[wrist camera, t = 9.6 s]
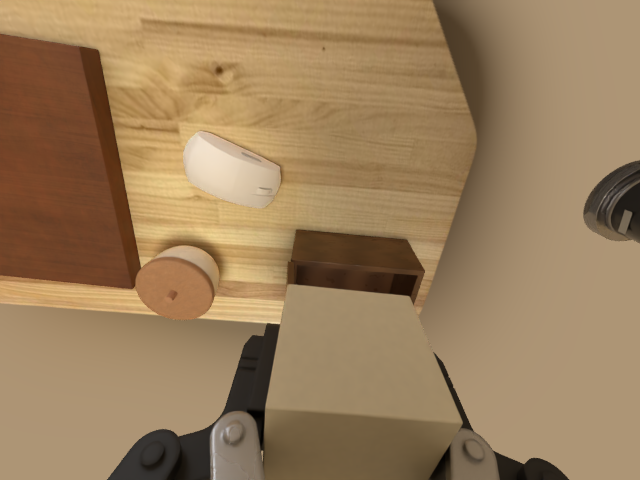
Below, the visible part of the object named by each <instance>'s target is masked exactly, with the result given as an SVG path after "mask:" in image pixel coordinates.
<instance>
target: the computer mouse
mask: <svg viewBox="0 0 640 480" xmlns="http://www.w3.org/2000/svg"><path fill="white" fill-rule="evenodd" d="M183 163H184V168H185V172H186V176H187V178H188V181H189V182H190V183H192V184H193V185H195V186H196V187H198V188H199V189H201V190H202V191H205V192H207V193H209V194H211V195H213V196H215V197H217V198H220V199H222V200H225V201H227V202H231V203H234V204H238V205H243V206H247V207H253V208H265V207H266V206H267V205H268V204H270V203H271V202H272V201H273V199H274V198H275V196H276V194H277V192H278V189H279V186H280V183H281V174H280V166H278V165H276V164H275V163H273V162H270V161H268V160H267V159H265V158H263V157H261V156H259V155H257V154H254V153H252V152H250V151H248V150H246V149H244V148H242V147H239V146H237V145H235V144H233V143H231V142H229V141H226V140H224V139H222V138H220V137H218V136H216V135H213V134H211V133H208V132H203V131H199V132H197V133H195V134H194V135H193V136H192V137H191V138H190V139H189V141H188V142H187V144H186V146H185V149H184V153H183Z"/></svg>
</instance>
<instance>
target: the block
mask: <svg viewBox="0 0 640 480" xmlns="http://www.w3.org/2000/svg"><path fill="white" fill-rule="evenodd" d="M462 424H463V422H462V419H461V417H460V414H459V412H458V410H457V407H456V405H455V403H454V400H453V398H452V395H451V393H450V391H449V388H448V386H447V384H446V381H445V379H444V376H443V374H442V372H441V369H440V367H439V365H438V362H437V360H436V358H435V355H434V353H433V351H432V348H431V346H430V343H429V341H428V339H427V336H426V334H425V332H424V329H423V327H422V324H421V322H420V320H419V317H418V315H417V313H416V310H415V308H414V305H413V303H412V301H411V298H410V297H409V296H403V295H393V294H383V293H373V292H363V291H353V290H343V289H333V288H324V287H314V286H304V285H294V284H288V285H287V290H286V296H285V301H284V307H283V312H282V318H281V323H280V329H279V334H278V340H277V345H276V351H275V356H274V362H273V368H272V373H271V379H270V384H269V390H268V395H267V401H266V406H265V426H264V449H263V468H264V475H265V480H428V479H429V478H430V476H431V474H432V473H433V471H434V470H435V468H436V466H437V465H438V463H439V461H440V460H441V458H442V457H443V455H444V453H445V452H446V450H447V449H448V447H449V445H450V444H451V442H452V440H453V439H454V437H455V436H456V434H457V432H458V431H459V429H460V427H461V426H462Z"/></svg>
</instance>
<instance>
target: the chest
mask: <svg viewBox="0 0 640 480" xmlns="http://www.w3.org/2000/svg"><path fill="white" fill-rule="evenodd" d="M291 262H294V285H304V286H314V287H324V288H333V289H343V290H353V291H363V292H373V293H383V294H393V295H403V296H409V297H410V298H411V301H412V303H413V305H414V302H415V299H416V296H417V294H418V291H419V288H420V285H421V282H422V279H423V276H424V273H425V270H424V269H423V267H422V265H421V263H420V262H419V260H418V258H417V256H416V255H415V253H414V251H413V250H412V248H411V246H410V244H409V243H408V241H407V240H404V239H393V238H382V237H371V236H360V235H349V234H339V233H328V232H317V231H306V230H296V234H295V240H294V246H293V252H292V258H291Z"/></svg>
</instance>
